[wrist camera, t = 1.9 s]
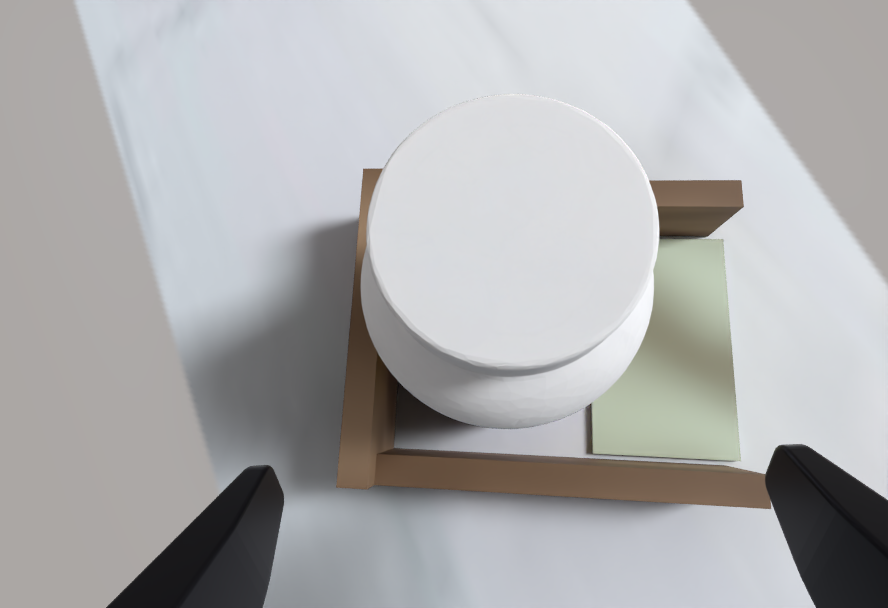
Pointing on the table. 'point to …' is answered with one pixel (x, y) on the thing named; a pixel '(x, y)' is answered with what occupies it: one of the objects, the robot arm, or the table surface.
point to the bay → (616, 411)
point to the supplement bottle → (510, 261)
